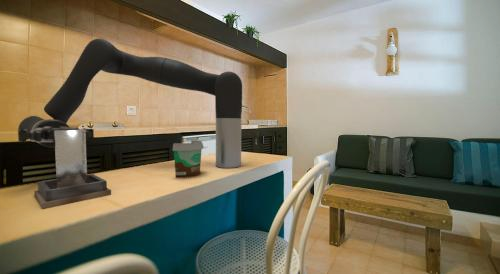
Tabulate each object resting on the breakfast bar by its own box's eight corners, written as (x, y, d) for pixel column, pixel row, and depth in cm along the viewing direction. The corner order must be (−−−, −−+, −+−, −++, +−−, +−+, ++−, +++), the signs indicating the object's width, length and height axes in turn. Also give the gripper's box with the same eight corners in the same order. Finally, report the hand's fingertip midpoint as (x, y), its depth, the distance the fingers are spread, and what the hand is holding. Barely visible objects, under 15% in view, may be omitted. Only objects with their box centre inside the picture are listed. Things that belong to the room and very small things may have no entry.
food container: (193, 180, 63) (192, 144, 62) (172, 178, 64) (172, 143, 64) (209, 170, 75) (209, 140, 74) (192, 169, 76) (192, 139, 76)
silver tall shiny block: (72, 186, 53) (69, 129, 52) (93, 187, 52) (91, 130, 51) (50, 193, 47) (47, 130, 46) (73, 194, 47) (71, 131, 46)
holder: (95, 184, 58) (94, 173, 57) (111, 194, 50) (110, 180, 50) (34, 195, 49) (33, 181, 49) (42, 208, 42) (41, 192, 42)
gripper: (13, 118, 58) (19, 118, 47) (81, 119, 68) (99, 119, 58) (15, 148, 58) (21, 155, 48) (82, 144, 69) (100, 149, 58)
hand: (64, 135), depth 53 cm, fingers open, 8 cm apart
